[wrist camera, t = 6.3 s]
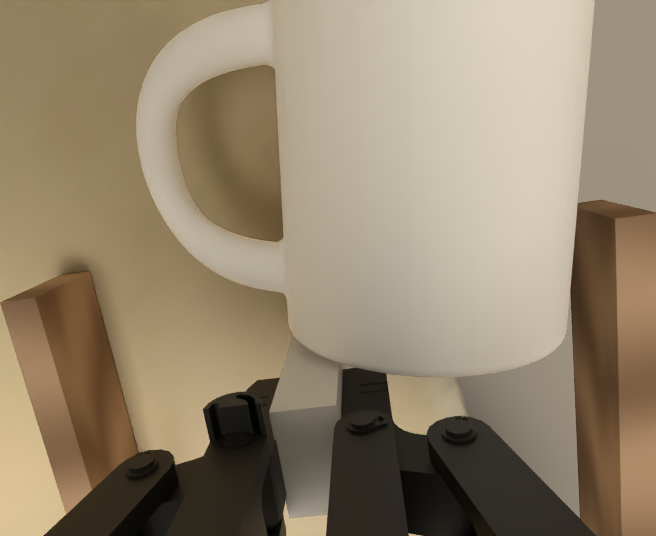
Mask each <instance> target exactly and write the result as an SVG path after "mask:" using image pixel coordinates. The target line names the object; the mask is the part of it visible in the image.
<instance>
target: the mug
mask: <svg viewBox="0 0 656 536" xmlns="http://www.w3.org/2000/svg"><path fill="white" fill-rule="evenodd" d="M594 4H595V0H268V1H267V2H265V3H262V4H256V5H249V6H244V7H240V8H235V9H231V10H227V11H223V12H220V13H217V14H214V15H212V16H209V17H207V18H204V19H202V20H200V21H198V22H196V23H194V24H192V25H190V26H189V27H187V28H186V29H184V30H183V31H181V32H180V33H178V34H177V35H176V36H175V37H174V38H172V39H171V40H170V41H169V42H168V43H167V44H166V45H165V46H164V47H163V49H162V50H161V51H160V52H159V54H158V55H157V56H156V58H155V59H154V61H153V62H152V64H151V66H150V68H149V70H148V72H147V74H146V77H145V79H144V82H143V85H142V88H141V91H140V95H139V100H138V106H137V114H136V139H137V147H138V153H139V159H140V163H141V167H142V171H143V174H144V177H145V181H146V183H147V186H148V189H149V191H150V194H151V196H152V198H153V200H154V203H155V205H156V207H157V208H158V210H159V212H160V214H161V216H162V217H163V219H164V221H165V222H166V224H167V225H168V227H169V228H170V230H171V231H172V233H173V234H174V235H175V237H176V238H177V239H178V241H179V242H180V243H181V244H182V245H183V246H184V247H185V249H186V250H187V251H188V252H189V253H190V254H191V255H192V256H194V257H195V258H196V259H197V260H198V261H199V262H200V263H202V264H203V265H204V266H206V267H207V268H209V269H210V270H212V271H213V272H215V273H217V274H218V275H220V276H222V277H224V278H226V279H228V280H231V281H233V282H236V283H239V284H242V285H245V286H248V287H252V288H257V289H262V290H267V291H275V292H281V293H283V294H284V295H285V296H286V298H287V311H288V325H289V328H290V330H291V332H292V334H293V335H294V337H295V338H296V339H297V340H298V341H299V342H300V343H301V344H302V345H304V346H305V347H306V348H308V349H309V350H311V351H313V352H314V353H316V354H318V355H320V356H322V357H325V358H327V359H330V360H332V361H335V362H338V363H341V364H344V365H348V366H351V367H355V368H359V369H364V370H368V371H374V372H379V373H386V374H394V375H403V376H417V377H462V376H475V375H483V374H491V373H497V372H502V371H507V370H511V369H515V368H519V367H522V366H525V365H528V364H531V363H533V362H536V361H538V360H540V359H542V358H544V357H546V356H547V355H549V354H550V353H552V352H553V351H554V350H555V349H557V348H558V347H559V345H560V344H561V343H562V342H563V340H564V338H565V336H566V331H567V323H568V311H569V299H570V288H571V276H572V264H573V252H574V240H575V229H576V217H577V205H578V192H579V181H580V169H581V157H582V146H583V133H584V123H585V111H586V99H587V86H588V75H589V64H590V52H591V40H592V28H593V16H594ZM261 65H270V66H272V67H273V68H274V70H275V82H276V101H277V121H278V140H279V159H280V178H281V198H282V217H283V236H284V237H283V239H282V240H280V241H278V242H273V241H265V240H259V239H253V238H249V237H245V236H241V235H238V234H235V233H232V232H230V231H227V230H225V229H223V228H221V227H219V226H217V225H216V224H214V223H213V222H211V221H210V220H209V219H207V218H206V217H205V216H204V215H203V214H202V213H201V212H200V210H199V209H198V208H197V207H196V205H195V203H194V202H193V200H192V198H191V196H190V194H189V191H188V189H187V187H186V184H185V181H184V178H183V174H182V170H181V166H180V161H179V155H178V149H177V140H176V123H177V116H178V112H179V108H180V106H181V104H182V102H183V100H184V99H185V97H186V96H187V95H188V94H189V93H190V92H191V91H192V90H193V89H194V88H196V87H197V86H199V85H200V84H202V83H203V82H205V81H207V80H209V79H211V78H214V77H216V76H219V75H222V74H225V73H228V72H231V71H235V70H239V69H244V68H249V67H255V66H261Z"/></svg>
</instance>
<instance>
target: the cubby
mask: <svg viewBox="0 0 656 536" xmlns="http://www.w3.org/2000/svg"><path fill="white" fill-rule="evenodd" d="M570 289H571V311H572V312H571V313H572V335H573V360H574V383H575V408H576V432H577V455H578V476H579V477H578V479H579V503H580V519H581V520H582V522H583V523H584V524H585V525H586V526H587V527H588V528H589V529H590V530H591V531H592V532H593V533H594V534H595V535H596V536H656V213H655V212H651V211H647V210H643V209H639V208H634V207H630V206H626V205H622V204H617V203H613V202H609V201H604V200H597V201H589V202H582V203H578V205H577V217H576V229H575V240H574V252H573V264H572V276H571V288H570ZM0 304H1V307H2V310H3V313H4V316H5V320H6V323H7V326H8V329H9V332H10V336H11V339H12V342H13V345H14V348H15V352H16V355H17V358H18V361H19V364H20V368H21V371H22V374H23V377H24V380H25V384H26V387H27V390H28V393H29V396H30V400H31V403H32V406H33V409H34V412H35V416H36V419H37V422H38V425H39V428H40V432H41V435H42V438H43V441H44V444H45V448H46V451H47V454H48V457H49V460H50V464H51V467H52V470H53V473H54V476H55V480H56V483H57V486H58V489H59V492H60V496H61V499H62V502H63V505H64V508H65V512H66V514H67V513H68V512H69V511H70V510H72V509H73V508H74V507H75V506H76V505H77V504H78V503H79V502H80V501H81V500H82V499H83V498H84V497H85V496H86V495H87V494H88V493H90V492H91V491H92V490H93V489H94V488H95V487H96V486H97V485H98V484H99V483H100V482H101V481H102V480H103V479H104V478H105V477H107V476H108V475H109V474H110V473H111V472H112V471H113V470H114V469H115V468H116V467H117V466H118V465H120V464H121V463H122V462H124V461H125V460H127V459H128V458H130V457H133V456H135V455H136V454H138V451H137V447H136V443H135V439H134V435H133V432H132V428H131V424H130V420H129V417H128V413H127V409H126V405H125V402H124V398H123V394H122V390H121V387H120V383H119V379H118V375H117V372H116V368H115V364H114V360H113V357H112V353H111V349H110V345H109V341H108V338H107V334H106V330H105V326H104V323H103V319H102V315H101V311H100V308H99V304H98V300H97V296H96V293H95V289H94V285H93V281H92V278H91V274H90V271H87V272H80V273H73V274H66V275H60V276H58V277H55V278H53V279H51V280H49V281H47V282H44V283H42V284H40V285H38V286H36V287H33V288H31V289H29V290H27V291H25V292H22V293H20V294H18V295H16V296H14V297H11V298H9V299H7V300H5V301H3V302H0Z"/></svg>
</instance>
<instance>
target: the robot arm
mask: <svg viewBox="0 0 656 536" xmlns="http://www.w3.org/2000/svg"><path fill="white" fill-rule="evenodd" d="M203 412H204V416H205V421H206V425H207V430H208V434H209V439H210V444H209V446H208V448H207V450H206V452H205V454H204V456H203V457H200V458H197V459H194V460H191V461H188V462H184V463H181V464H178V465H175V461H174V457H173V455H172V454H171V453H170V452H169V451H165V450H148V451H144V452H140V453H138V454H136V455H135V456H133V457H130V458H128V459H127V460H125V461H124V462H122V463H121V464H120V465H118V466H117V467H116V468H115V469H114V470H113V471H112V472H111V473H110V474H109V475H108V476H107V477H105V478H104V479H103V480H102V481H101V482H100V483H99V484H98V485H97V486H96V487H95V488H94V489H93V490H92V491H91V492H90V493H88V494H87V495H86V496H85V497H84V498H83V499H82V500H81V501H80V502H79V503H78V504H77V505H76V506H75V507H74V508H73V509H72V510H70V511H69V512H68V513H67V514H66V515H65V516H64V517H63V518H62V519H61V520H60V521H59V522H58V523H57V524H56V525H55V526H53V527H52V528H51V529H50V530H49V531H48V532H47V533H46V534H45V535H44V536H286V527H285V522H284V516H283V510H284V505H285V500H286V504H287V509H288V514H289V518H297V517H308V516H319V515H328V517H327V531H326V536H409V535H408V533H410V534H416V535H422V536H596V535H595V534H594V533H593V532H592V531H591V530H590V529H589V528H588V527H587V526H586V525H585V524H584V523H583V522H582V520H581V519H580V518H579V517H578V516H577V515H576V514H574V512H573V511H572V510H571V509H570V508H569V507H568V506H567V505H566V504H565V503H564V502H563V501H562V500H561V499H560V498H559V497H558V496H557V495H556V494H555V493H554V492H553V491H552V490H551V489H550V488H549V487H548V486H547V485H546V484H545V483H544V482H543V481H542V480H541V479H540V478H539V477H538V476H537V475H536V474H535V472H533V471H532V469H531V468H530V467H529V466H528V465H527V464H526V463H525V462H524V461H523V460H522V459H521V458H520V457H519V456H518V455H517V454H516V453H515V452H514V451H513V450H512V449H511V448H510V447H509V446H508V445H507V444H506V443H505V442H504V441H503V440H502V439H501V438H500V437H499V436H498V435H497V434H496V433H495V432H494V431H493V430H492V429H491V428H490V426H488V425H487V424H485V423H484V422H482V421H481V420H477V419H474V418H471V417H465V416H463V417H461V416H454V417H449V418H444V419H442V420H439V421H436V422H435V423H434V424H433V425H431V426H430V427H429V429H428V432H427V435H420V434H414V433H410V432H407V431H404V430H402V429H400V428H399V427H397V425H396V424H395V423H394V422H393V419H392V413H391V406H390V399H389V392H388V384H387V377H386V373H379V372H374V371H368V370H364V369H359V368H351V366H348V365H344V364H341V363H338V362H335V361H332V360H330V359H327V358H325V357H322V356H320V355H318V354H316V353H314V352H313V351H311V350H309V349H308V348H306V347H305V346H304V345H302V344H301V343H300V342H299V341H298V340H297V339H296V338H295V337H294V335H293V337H292V340H291V344H290V347H289V350H288V353H287V356H286V360H285V363H284V366H283V369H282V372H281V376H280V378H274V379H265V380H257V381H256V382H255V383H254V384H253V385H252V386H251V387H249V388H248V389H247V391H246V392H236V393H231V394H227V395H224V396H221V397H219V398H216V399H215V400H213V401H211V402H210V403H208V404H207V405H206V407H205V408H204V409H203Z"/></svg>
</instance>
